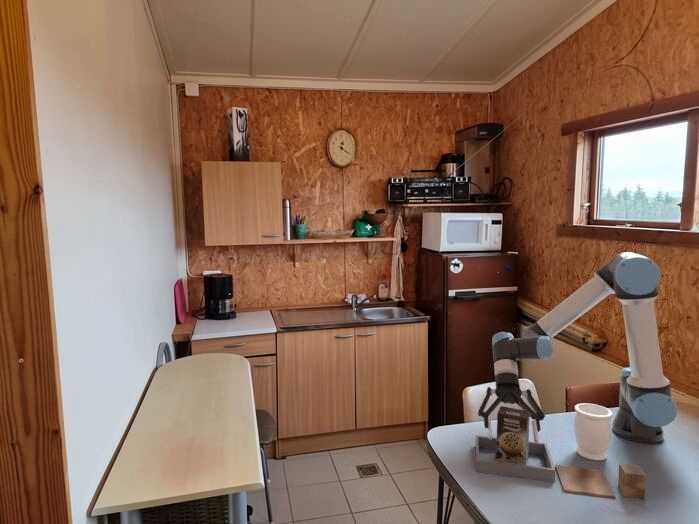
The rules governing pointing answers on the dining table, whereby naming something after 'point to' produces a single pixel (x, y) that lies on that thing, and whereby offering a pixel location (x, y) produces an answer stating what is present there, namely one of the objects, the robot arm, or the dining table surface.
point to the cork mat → (584, 481)
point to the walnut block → (632, 481)
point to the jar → (592, 430)
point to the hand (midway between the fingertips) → (513, 440)
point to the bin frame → (515, 469)
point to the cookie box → (512, 435)
